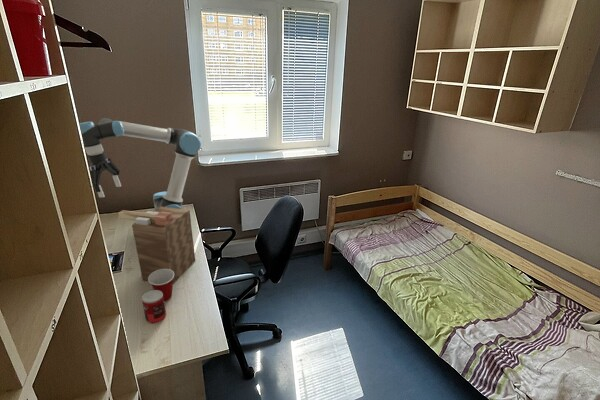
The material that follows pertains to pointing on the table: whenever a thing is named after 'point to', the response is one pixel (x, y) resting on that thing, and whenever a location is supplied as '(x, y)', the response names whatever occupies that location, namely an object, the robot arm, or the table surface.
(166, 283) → the plastic cup
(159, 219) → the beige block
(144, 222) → the twin white cubes
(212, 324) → the table surface
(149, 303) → the canned food
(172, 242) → the wooden tower
